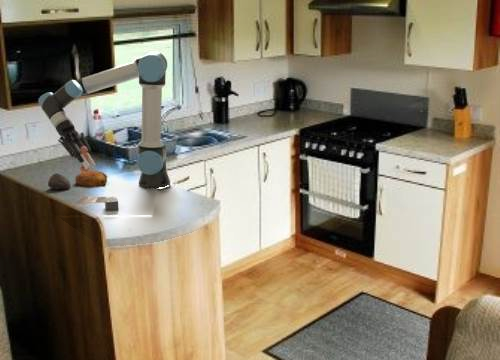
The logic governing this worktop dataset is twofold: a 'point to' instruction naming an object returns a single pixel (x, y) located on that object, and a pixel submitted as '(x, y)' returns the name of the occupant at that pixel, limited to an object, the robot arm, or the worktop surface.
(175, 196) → the worktop surface
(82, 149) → the pawn
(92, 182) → the croissant
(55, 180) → the stone
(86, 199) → the track
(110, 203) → the die
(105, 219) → the worktop surface
